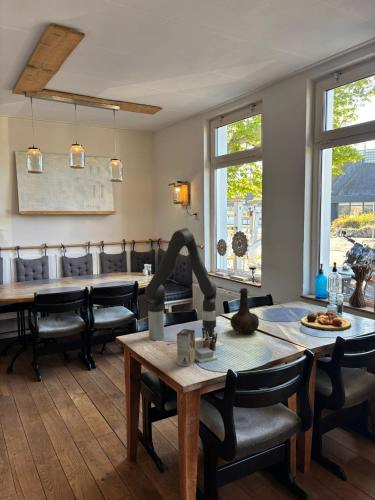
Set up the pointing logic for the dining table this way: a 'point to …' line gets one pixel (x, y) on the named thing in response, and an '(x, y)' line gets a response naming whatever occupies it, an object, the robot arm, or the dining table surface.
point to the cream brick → (198, 343)
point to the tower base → (204, 355)
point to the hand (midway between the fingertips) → (209, 348)
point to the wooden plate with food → (325, 321)
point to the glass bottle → (244, 316)
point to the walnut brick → (208, 344)
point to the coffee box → (186, 347)
